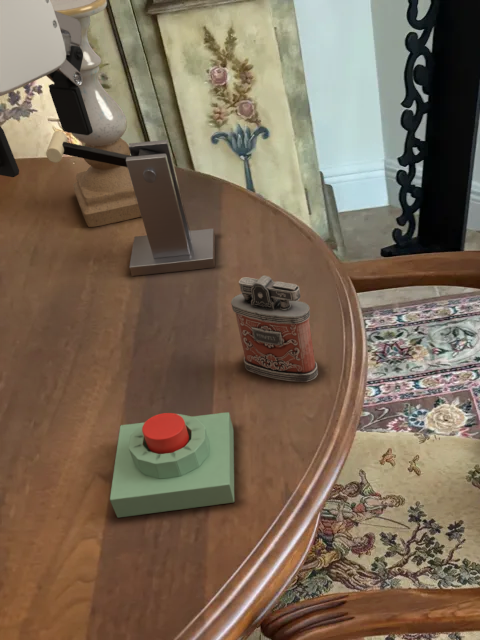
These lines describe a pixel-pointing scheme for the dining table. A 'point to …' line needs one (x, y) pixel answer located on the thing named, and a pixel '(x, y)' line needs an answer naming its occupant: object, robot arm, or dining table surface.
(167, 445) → the button
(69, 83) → the robot arm
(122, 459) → the button box
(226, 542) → the dining table surface
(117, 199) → the candle holder
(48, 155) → the lever
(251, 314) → the lighter
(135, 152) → the bracket
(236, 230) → the dining table surface
